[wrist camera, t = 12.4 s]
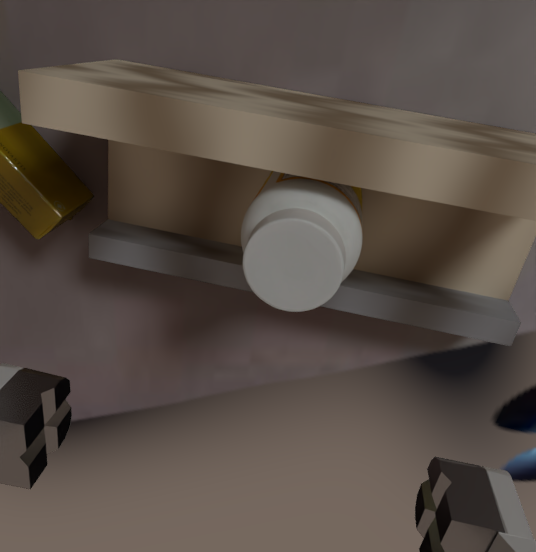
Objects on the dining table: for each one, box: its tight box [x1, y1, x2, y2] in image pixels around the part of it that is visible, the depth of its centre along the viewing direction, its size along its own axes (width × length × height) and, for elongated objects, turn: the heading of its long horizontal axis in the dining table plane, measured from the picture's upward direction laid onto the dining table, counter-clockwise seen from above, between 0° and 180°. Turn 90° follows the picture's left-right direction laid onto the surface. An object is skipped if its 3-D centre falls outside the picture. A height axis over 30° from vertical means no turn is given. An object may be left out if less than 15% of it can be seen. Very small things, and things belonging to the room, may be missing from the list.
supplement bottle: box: [241, 171, 362, 312], centre depth 24 cm, size 5×5×10 cm
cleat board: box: [18, 59, 536, 346], centre depth 25 cm, size 24×11×9 cm, turn 81°
